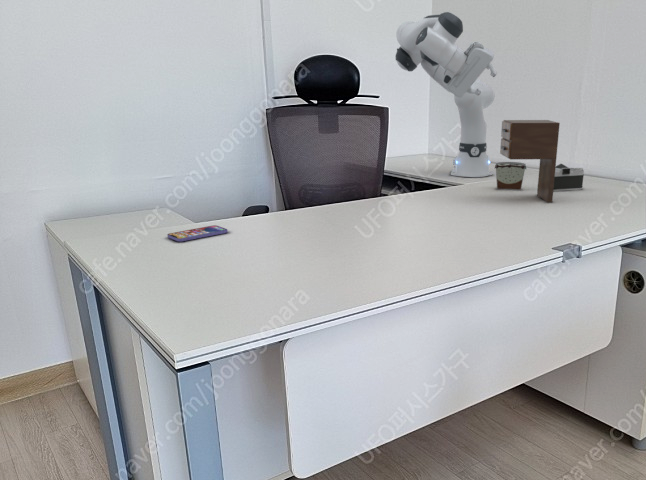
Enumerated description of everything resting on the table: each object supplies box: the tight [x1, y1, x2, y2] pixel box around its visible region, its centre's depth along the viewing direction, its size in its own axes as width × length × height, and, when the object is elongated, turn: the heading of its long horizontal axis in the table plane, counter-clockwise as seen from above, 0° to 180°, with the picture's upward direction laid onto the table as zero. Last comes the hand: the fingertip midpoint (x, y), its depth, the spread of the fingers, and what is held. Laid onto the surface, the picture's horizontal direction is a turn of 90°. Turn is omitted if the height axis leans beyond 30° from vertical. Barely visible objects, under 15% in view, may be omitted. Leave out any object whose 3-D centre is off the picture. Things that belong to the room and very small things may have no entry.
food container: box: [494, 161, 527, 191], centre depth 233 cm, size 12×6×10 cm, turn 84°
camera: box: [553, 163, 585, 192], centre depth 232 cm, size 16×9×10 cm, turn 108°
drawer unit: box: [499, 119, 561, 204], centre depth 210 cm, size 14×17×27 cm
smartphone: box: [166, 224, 228, 242], centre depth 164 cm, size 1×7×15 cm
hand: (487, 84), depth 216 cm, fingers open, 8 cm apart
